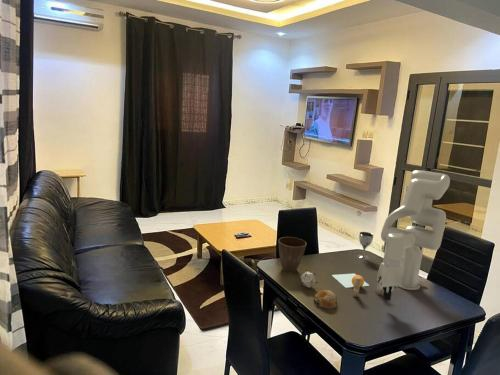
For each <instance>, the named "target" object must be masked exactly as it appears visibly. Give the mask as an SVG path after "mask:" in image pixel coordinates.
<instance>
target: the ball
mask: <svg viewBox="0 0 500 375" xmlns="http://www.w3.org/2000/svg"><path fill="white" fill-rule="evenodd" d="M355 277H359V278H361V281H360V288H362V287H361V286H363V284H364V281H365V279H364V278H363V276H362V275H359V274H356V275H355V276H354V277H353V278H352V284H353V285H354V282H355ZM363 287H364V286H363Z"/></svg>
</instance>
